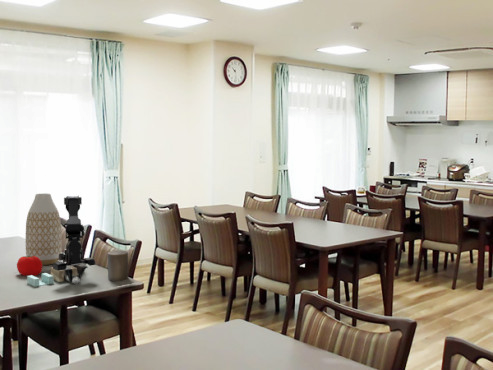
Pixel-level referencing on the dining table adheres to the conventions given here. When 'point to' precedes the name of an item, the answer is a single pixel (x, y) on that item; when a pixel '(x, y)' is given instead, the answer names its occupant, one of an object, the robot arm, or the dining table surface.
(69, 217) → the robot arm
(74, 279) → the axle
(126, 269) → the pillar candle
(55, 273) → the open beige box
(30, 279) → the cradle
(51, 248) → the vase
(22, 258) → the tomato
